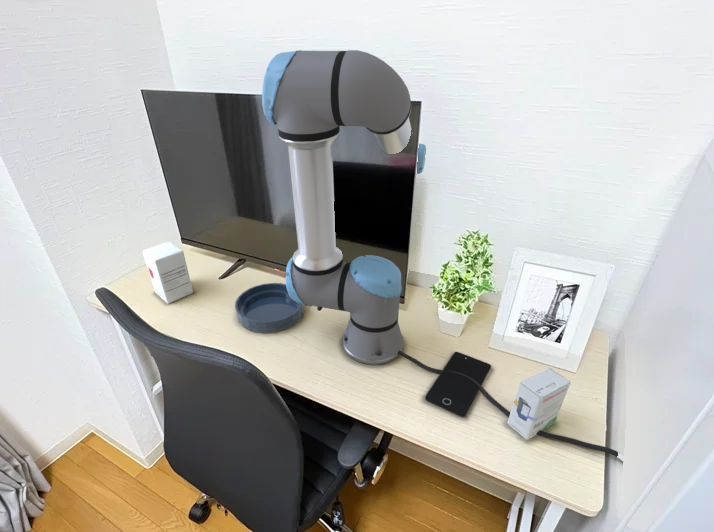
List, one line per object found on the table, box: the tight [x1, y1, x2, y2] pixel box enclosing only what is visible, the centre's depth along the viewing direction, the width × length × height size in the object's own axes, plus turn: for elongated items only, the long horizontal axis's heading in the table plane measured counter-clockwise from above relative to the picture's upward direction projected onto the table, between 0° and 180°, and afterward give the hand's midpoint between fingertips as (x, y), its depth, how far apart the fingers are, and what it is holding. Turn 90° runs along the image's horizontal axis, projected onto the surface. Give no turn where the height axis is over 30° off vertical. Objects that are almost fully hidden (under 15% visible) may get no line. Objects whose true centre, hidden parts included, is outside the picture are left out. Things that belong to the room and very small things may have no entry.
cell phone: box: [424, 351, 492, 418], centre depth 94 cm, size 9×18×1 cm, turn 144°
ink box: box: [506, 367, 572, 441], centre depth 81 cm, size 9×5×12 cm, turn 118°
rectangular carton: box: [142, 241, 194, 305], centre depth 125 cm, size 9×9×15 cm
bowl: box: [234, 282, 306, 334], centre depth 118 cm, size 19×19×4 cm
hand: (315, 274), depth 120 cm, fingers closed on supplement bottle, 6 cm apart
